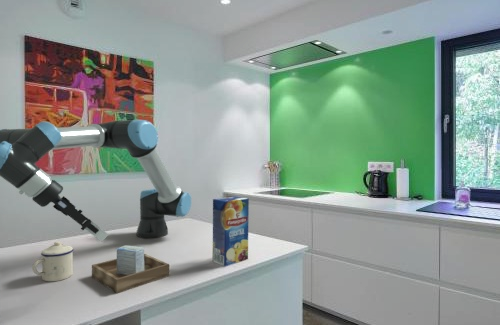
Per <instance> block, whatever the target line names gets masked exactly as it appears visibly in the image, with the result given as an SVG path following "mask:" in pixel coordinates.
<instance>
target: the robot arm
mask: <svg viewBox="0 0 500 325" xmlns="http://www.w3.org/2000/svg"><path fill="white" fill-rule="evenodd" d="M158 135H159V134H158V131H157V128H156V127H155V125H154V124H153V123H152V122H151V121H149V120H146V119H132V120H128V119H127V120H112V121H111V120H110V121H108V122H107V121H106V122H99V123H92V124H90V125H88V126H69V127H68V126H65V127H56V126H55V125H54V124H53V123H51V122H49V121H45V120H43V121H40V122H39V123H37V124H34V126H33V127H32V128H12V129H7V128H1V129H0V177H1V178H2V179H3V180H5V181H6V182H8V183H10V184H11V185H12V186H13V187H15V188H16V189H17V190H19V191H18V194H20V195H23V194H24V196H27V197H28V198H31V199H32V202H34V203H35V204H37V205H39V206H40V207H42V208H43V207H46V206H48V205H50V203H53V204H54V205H52V207H53V209H55V210H57V211H58V212H61V214H63V215H64V216H68V217H70V218H71V219H72V220H73V221H74V222H76V223H77V224H79V226H81V228H80V230H81V231H84V230H86V231H87V232H88V233H90V234H91V235H92V236H93V237H95V238H96V239H98V240H99V241H100V242H101V243H102V242H103V241H105V240H106V238H107V237H108V236H109V233H108V232H107V231H105V230H104V229H102V228H101V227H100V226H99V225H98V224H96V223H95V222H94V221H93V220H92V219H90V218H88V217H87V216H86V215H85V214H84V213H83V210H82V209H76V206H75V205H74V204H73V203H72V202H71V201H70V200H69V199H68V198H67V197H65V196H62V197H61V196H60V194H61V193H62V192H63V190H64V187H63V185H61V184H60V183H59V182H57V181H56V180H55V179H52V177H51V175H50V174H48V173H47V172H45V171H44V170H43V169H42V168H40V167H39V166H38V165H37V164H36V163H38V162H39V161H40V160H41V159H42V158H43V157H44V156H45V155H46V154H48V153H49V152H50V151H52V150H62V149H65V150H66V149H73V148H84V147H92V148H94V149H96V148H97V149H98V148H99V149H100V148H108V149H118V150H127V152H128V153H129V156H130V157H132V158H133V159H137V161H138V162H139V164H140V166H141V168H142V169H143V171H144V173H145V174H146V176H147V177H148V179H149V181H151V182H150V183H151V184H152V185H153V187H154V188H151V189H150V188H149V189H144V190H141V192H140V198H139V205H140V207H139V208H140V209H139V212H140V217H139V218H140V220H139V222H138V226H137V228H136V237H138V238H142V239H154V238H160V237H161V238H162V237H164V236H167V235H168V234H169V229H168V225H167V223H166V220H165V216H169V217H170V216H171V217H185V216H186V215H187V214H189V211H190V210H191V207H192V196H191V194H190V193H188V192H184V191H183V189H182V188H181V187H180V186H179V185H178V184H175V181H174V180H173V178H172V176H171V174H170V173H169V171H168V169H167V167H166V165H165V164H164V162H163V160H162V158H161V156H160V154H159V153H158V151H157V147H158V146H157V145H158V141H159V140H158V139H159V137H158Z"/></svg>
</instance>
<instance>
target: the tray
mask: <svg viewBox="0 0 500 325" xmlns="http://www.w3.org/2000/svg"><path fill="white" fill-rule="evenodd" d="M91 277H92V278H93V279H94V280H96V281H98V282H100V283H101V284H102V285H103V286H104V287H106V288H108V289H110V290H111V291H113V292H114V293H116V294H119V293H122V292H125V291H127V290H133V289H134V288H138V287H141V286H143V285H147V284H149V283H152V282H155V281H158V280H162V279H164V278H168V277H170V264H169V263H167V262H165V261H163V260H160V259H158V258H155V257H153V256H152V255H148V254H146V253H144V271H141V272H137V273H134V274H131V275H121V274H117V258H115V259H110V260H105V261H102V262H99V263H94V264H92V265H91Z"/></svg>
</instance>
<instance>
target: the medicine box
mask: <svg viewBox="0 0 500 325" xmlns="http://www.w3.org/2000/svg"><path fill="white" fill-rule="evenodd" d="M144 254H145V248H144V247H142V246H136V245H134V246H133V245H126V244H125V245H123V246H120V247H118V248H116V259H117V274H121V275H131V274H134V273H137V272H141V271H144Z"/></svg>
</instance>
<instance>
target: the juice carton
mask: <svg viewBox="0 0 500 325" xmlns="http://www.w3.org/2000/svg"><path fill="white" fill-rule="evenodd" d="M249 200H250V199H249V198H247V197H241V196H229V197H221V198H213V199H212V262H213V263H216V264H218V265H220V266H223V267H227V266H231V265H234V264H237V263H240V262H243V261H246V260H249V211H250V210H249V204H250V203H249Z"/></svg>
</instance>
